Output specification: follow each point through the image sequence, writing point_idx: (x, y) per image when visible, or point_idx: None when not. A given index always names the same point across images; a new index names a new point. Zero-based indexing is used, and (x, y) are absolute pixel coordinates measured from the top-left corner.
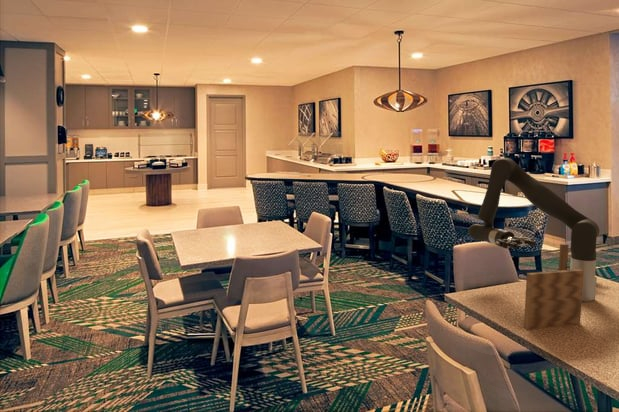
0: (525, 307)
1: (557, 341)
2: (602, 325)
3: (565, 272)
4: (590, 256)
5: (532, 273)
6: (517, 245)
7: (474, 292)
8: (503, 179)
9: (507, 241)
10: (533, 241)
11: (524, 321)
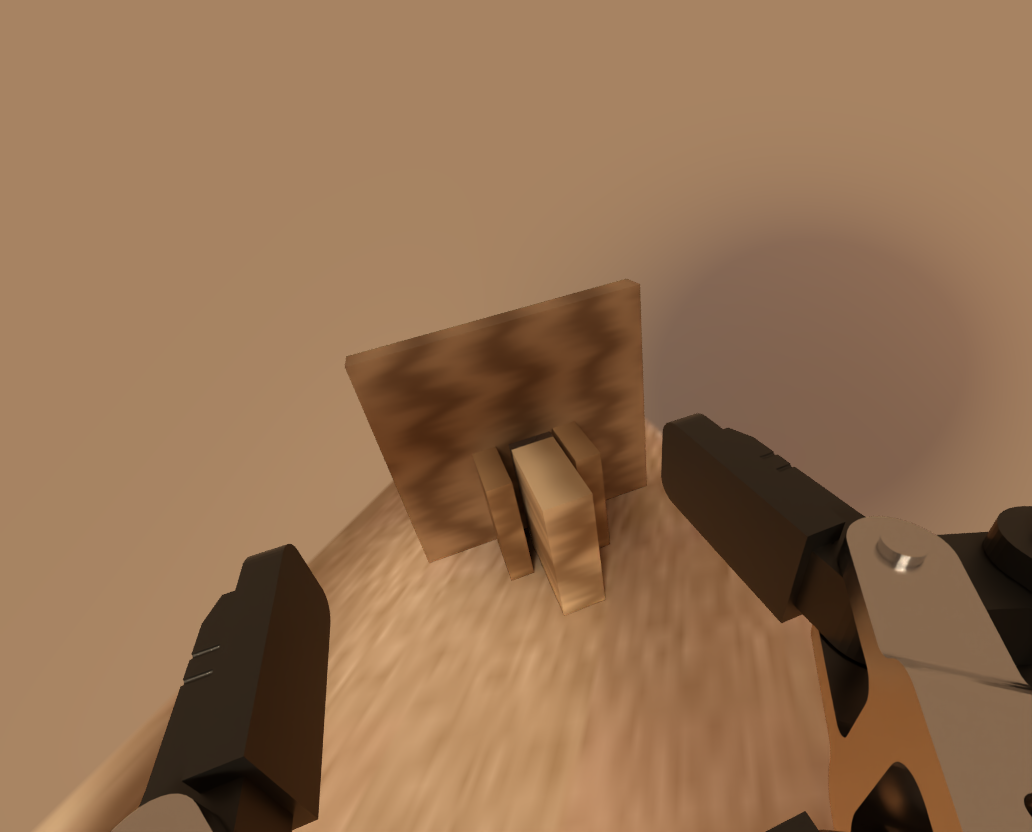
0: (642, 421)
1: None
2: (360, 544)
3: (452, 329)
4: None
5: (614, 287)
6: (662, 446)
7: None
8: None
9: (949, 549)
10: (274, 566)
11: (645, 466)
